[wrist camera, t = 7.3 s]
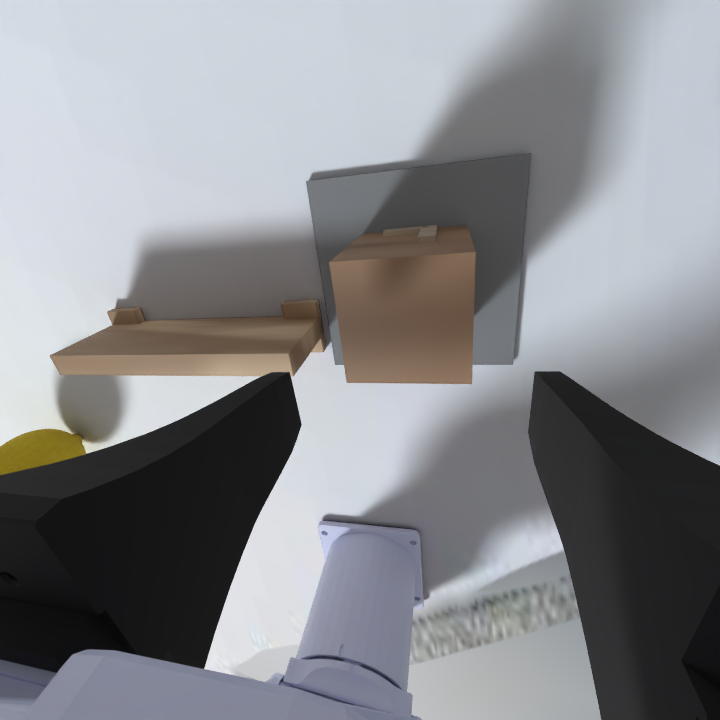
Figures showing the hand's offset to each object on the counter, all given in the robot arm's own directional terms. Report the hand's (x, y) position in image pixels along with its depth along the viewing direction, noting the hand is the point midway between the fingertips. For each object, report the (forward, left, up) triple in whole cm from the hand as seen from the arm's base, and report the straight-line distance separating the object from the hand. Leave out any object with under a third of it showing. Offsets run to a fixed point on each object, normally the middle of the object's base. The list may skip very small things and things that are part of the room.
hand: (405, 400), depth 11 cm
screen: (-1, +13, -10) cm, 16 cm away
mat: (+1, 0, -10) cm, 10 cm away
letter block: (+1, 0, -10) cm, 10 cm away
